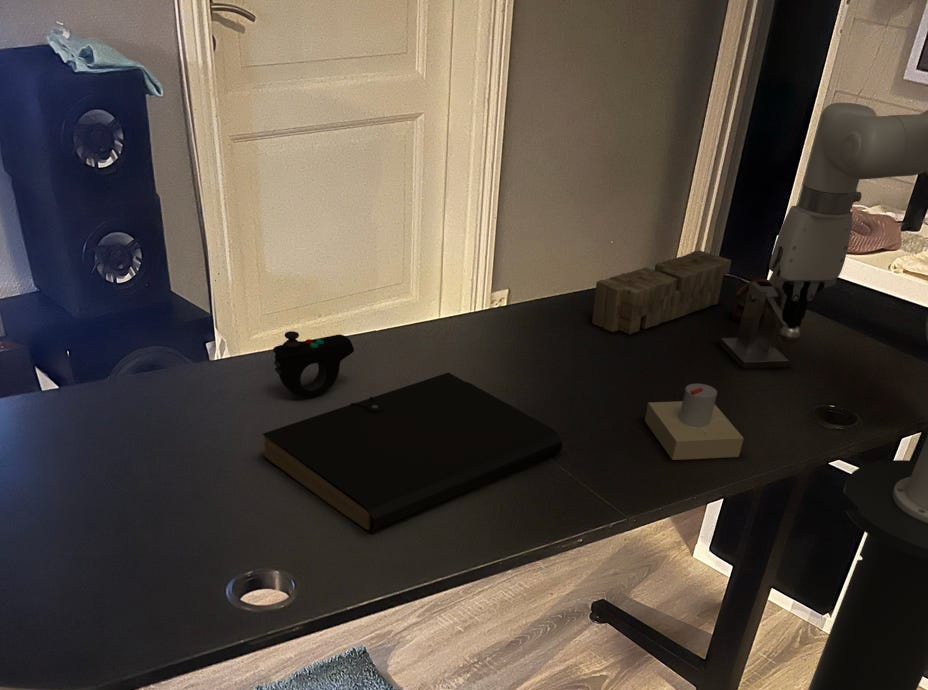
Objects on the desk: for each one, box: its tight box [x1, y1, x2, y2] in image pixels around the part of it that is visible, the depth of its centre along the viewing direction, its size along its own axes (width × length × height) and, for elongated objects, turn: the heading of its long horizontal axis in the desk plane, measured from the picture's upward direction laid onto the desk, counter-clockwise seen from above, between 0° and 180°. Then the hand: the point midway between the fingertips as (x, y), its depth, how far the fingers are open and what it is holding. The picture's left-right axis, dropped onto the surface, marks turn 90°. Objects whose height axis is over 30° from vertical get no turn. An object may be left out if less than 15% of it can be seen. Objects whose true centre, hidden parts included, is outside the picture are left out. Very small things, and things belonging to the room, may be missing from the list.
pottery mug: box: [732, 277, 772, 320], centre depth 178 cm, size 12×10×8 cm
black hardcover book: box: [262, 372, 563, 532], centre depth 132 cm, size 33×4×24 cm
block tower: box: [591, 249, 732, 336], centre depth 177 cm, size 8×8×29 cm
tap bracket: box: [719, 281, 789, 369], centre depth 162 cm, size 10×8×12 cm
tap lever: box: [762, 286, 801, 346], centre depth 157 cm, size 13×3×3 cm, turn 10°
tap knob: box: [680, 383, 718, 426], centre depth 138 cm, size 4×4×5 cm
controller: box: [272, 330, 355, 399], centre depth 144 cm, size 4×12×10 cm, turn 124°
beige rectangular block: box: [644, 400, 745, 461], centre depth 140 cm, size 12×10×3 cm
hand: (790, 322), depth 153 cm, fingers closed
